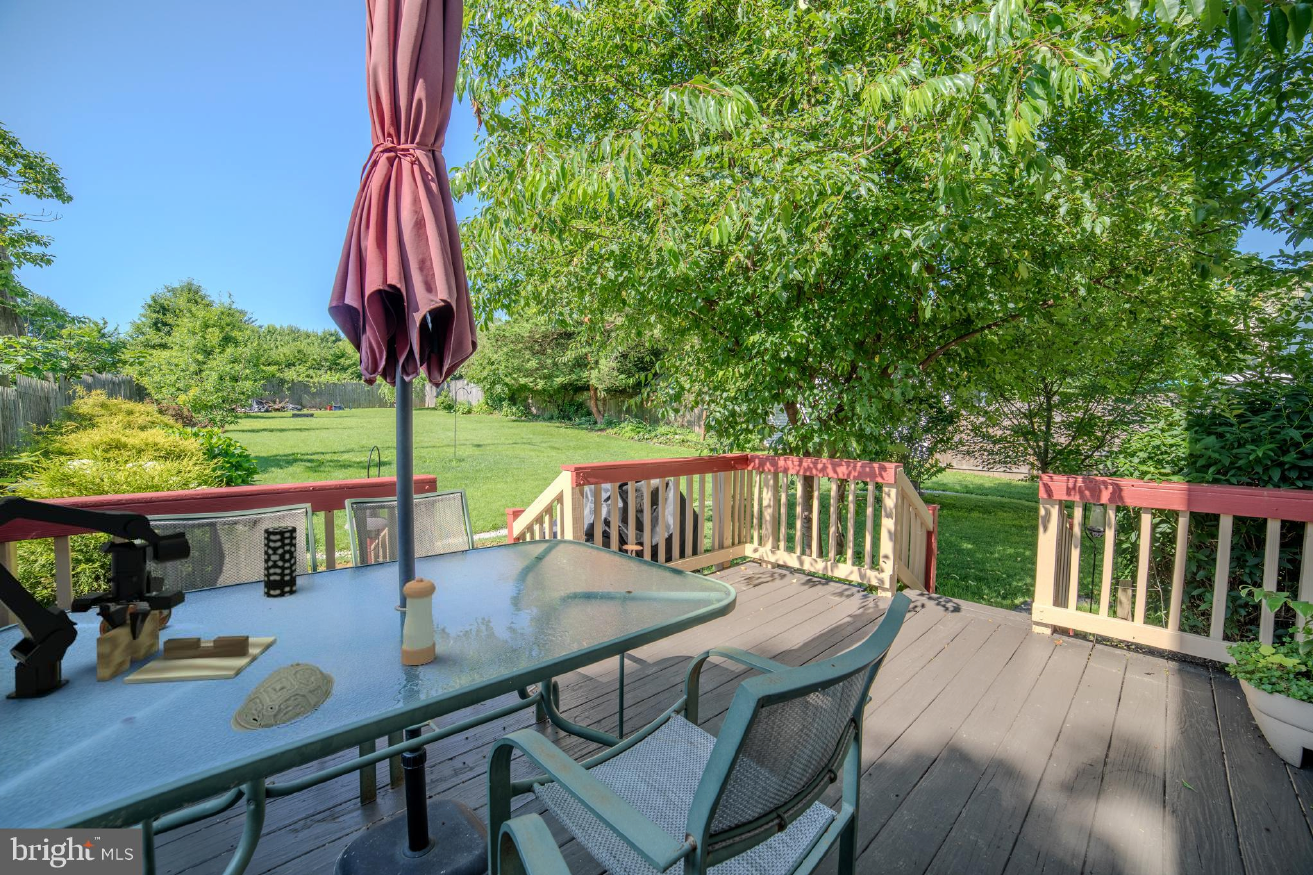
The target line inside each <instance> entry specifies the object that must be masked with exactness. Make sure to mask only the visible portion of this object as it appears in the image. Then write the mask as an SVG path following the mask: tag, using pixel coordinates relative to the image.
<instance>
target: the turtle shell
mask: <svg viewBox="0 0 1313 875" xmlns="http://www.w3.org/2000/svg"><path fill="white" fill-rule="evenodd" d="M335 681H336V680H335V678H334V676H333V675H332V674H331V673H328V672H324V671H323V670H321V668H320V667H318V666H316V665H314V664H312V663H310V662H308V663H307V662H299V661H295V662H293V663H291V664H289V665H288V664H287V665H285V666H281V667H278V668H277V669H276V670H274V671H272V672H271V673H269V675H268V676H267V677H265V678H264V679H262V680H261V681H260V682H259V683H258V684H257V685H256V686H255V687H254V688H253V689H252V691H251V692H250V693H249V694H248V695H247V696H246V698H245V700H244V702H243V703H242V705H241V706H240V707H238V708H237V709H236V711H235V712H234V713H233V718H232V719H231V720H230V726H231V727H232V728H233V730H235V731H237V732H240V731H248V730H249V729H250V730H258V729H263V728H271V727H273V726H277V725H280V724H286V723H287V722H291V721H292V720H295V719H299V717H303V716H304V715H307V714H308V713H310V712H312V711H314V710H316V708H318V707H319V706H320V705H321V704H322V705H323V704H325V702H324V701H326V702H327V701H328V698H329V699H330V698H331V697H332V695H333V692H332V691H333V689H334V686H335V685H334V683H335ZM322 705H321V706H322ZM321 706H320V707H321ZM320 707H319V708H320ZM271 708H272V709H271ZM319 708H318V709H319ZM316 711H317V710H316ZM253 719H255V720H253ZM256 720H257V721H256Z"/></svg>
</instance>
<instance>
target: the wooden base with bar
mask: <svg viewBox="0 0 1313 875" xmlns="http://www.w3.org/2000/svg"><path fill="white" fill-rule="evenodd" d="M276 642H277V636H269V637H265V636H264V637H250V635H227V636H224V635H223V636H217V637H216V638H214V639H202V638H201V637H175V638H174V637H173V638H168V639H166V640H165V641H163V642H162V644H163V647H162V648H163V652H162V653H163V654H160V656H158V657H156V658H155V659H153V660H152V661H150V662H148V663H147V664H146V665H143V666H142V667H141V668H139V669H137V670H136V671H135V672H133V673H131V674H130V675H128V676H126V677H125V678H123V684H124V685H125V684H126V685H127V684H128V685H129V684H147V683H148V684H149V683H166V682H168V683H169V682H186V681H202V680H203V681H206V680H223V679H227V680H228V679H234V678H235V677H236V676H238V675H239V674H240V673H241V672H243V670H245V669H246V668H247V667H248V666H249V665H250V664H251V663H253V662H254V661H255V660H257V658H259V657H260V656H261V655H262V654H263V653H265V652H266V651H267V650H268V649H269V648H270V647H271V646H272V645H273V644H275V643H276Z"/></svg>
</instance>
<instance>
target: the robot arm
mask: <svg viewBox="0 0 1313 875" xmlns="http://www.w3.org/2000/svg"><path fill="white" fill-rule="evenodd" d="M15 519H21V520H23V519H24V520H30V521H36V522H43V523H50V524H56V525H63V526H68V527H69V526H70V527H75V528H76V527H77V528H83V529H88V530H93V531H97V532H100V533H103V534H106V535H108V536H112V537H116V538H118V539H119V538H120V539H123V540H126V541H120V542H119V541H118V542H115V541H114V540H109V539H108V540H107V541H106V542H105V543H104V544H103V545H101V546H99V547H98V548H97V551H98V552H99V553H103V554H110V559H111V560H110V562H111V563H110V564H111V565H110V566H111V567H110V568H111V569H110V570H111V571H110V572H111V574H110V576H109V577H106V583H111V592H108V591H98V592H97V591H96V592H93V591H92V592H88V593H86V594H83V595H81V596H78V597H76V598H74V599H73V600H72V601H71V602H70V604H69V606H70V607H69V608H70V609H69V610H70V613H71V614H76V613H77V614H79V613H80V614H81V613H82V614H83V613H87V612H89V611H90V610H91V609H92V607H98V612H96V614H95V615H96V616H97V617H101V618H102V619H104V620H105V621H106V622H107V623H108V624H109V625H110V626H111V628H112V629H113V630H114V629H116V628H118V627H120V626H122V625H124V624H126V623H127V611H128V609H129V606H130V605H136V610H134V611H132V612H130V613H129V617H130V625H131V633H132V637H133V640H136V639H138V638H139V636H140V634H141V631H142V629H143V627H144V624H145V622H146V620H147V618H148V616H149V615H150V613H151V612H152V611H153V610H168V609H172V610H173V608H175V607H177V606H179V605H182V604H183V603H185V602H186V594H185V592H183V590H182V589H171V590H163V588H164V585H165V580H166V577H159V576H153V575H152V571H151V569H147V567H148V566H147V565H148V564H147V561H148V562H152V563H153V564H154V565H155V566H157V565H163V564H168V563H175V562H180V561H185V560H188V559H189V558H190V556H191V545H190V543H189V540H188V538H187V537H186V532H185V531H183V530H177V531H172V532H167V533H161V534H159V533H158V532H157V531H156V530H154V529H153V528H152V527H151V521H150V519H149V518H148V517H147V516H146V515H144V514H142V513H141V514H140V513H137V512H134V511H133V512H132V511H129V510H92V509H85V508H79V507H73V506H68V505H62V504H55V503H50V502H44V501H38V500H34V499H33V500H31V499H26V498H24V497H20V496H16V495H5V496H2V497H0V527H2V526H4V525H6V524H8V523H9V522H12V521H13V520H14V521H15ZM138 540H139V541H142V542H140V543H135V541H138ZM155 592H156V594H154V595H150V594H152V593H155ZM0 604H1V605H2V606H3V607H4V608H6V610H7V611H8V612H10V614H11V615H12V616H13V617H14V618H15V620H16V622H17V625H18V628H19V630H20V631H21V633H22V634H23V636H24V637H22V638H21V639H20V640H19V641H18V642H17V643H15V645H14V646H12V648H10V649H9V653H10V654H11V656H12V659H14V660H16V661H18V662H17V663H16V665H15V666H14V691H12V692H10V693H8V694H6V695H5V699H22V698H23V699H24V698H42V697H46V696H47V695H49V694H51V693H53V692H54V691H57V690H58V689H60V688H62V687H64V686H65V685H67V684H68V683H70V681H71V680H70V679H69V678H68V679H62V677H63V674H62V661H63V659H64V657H65V655H66V653H67V651H68V648H69V647H70V646H72V645H73V643H74V642H75V641H76V639H77V636H78V630H77V628H76V627H75V626H78V624H79V623H77V622H76V621H73V620H71V618H70V617H69V615H68V613H67V612H66V610H64V609H63V608H60V607H58V606H57V605H55V604H52V605H50V606H49V607H47V608H46V607H44V606H43V605H42V604H41V603H40V602H39V601H38V600H37V599H36V598H35V597H34V596H33V595H32V594H31V593H30V592H29V590H28V589H26V587H25V586H24V585H22V584H21V582H20V581H19V580H18V579H17V578H16V577H15V576H14V575H13V574H12V573H11V572H10V571H9V569H7V568H6V567H5V566H4V565H3V564H2V563H1V562H0Z"/></svg>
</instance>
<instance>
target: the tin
mask: <svg viewBox="0 0 1313 875" xmlns="http://www.w3.org/2000/svg"><path fill="white" fill-rule="evenodd" d="M134 610H136V605H130V606H129V609H128V611H127V623H128V622H130V617H129V613H130V612H132V611H134ZM172 610H173V608H172V609H168V610H153V611H152V612H155V611H159V629H161V630H162V629H164V628H165V627H166V626H167V624H168V623H169V621H170V619H171V617H172V614H173V612H172ZM112 630H113V629H112V628H111V626H110V625H109V624H108V623H107V622H106V621H105V620H104V619H103V618H102V619H101V620H100V624H99V631H98V632H99V635H100V636H102V635H104V634H106V633H108V632H110V631H112ZM100 636H99V637H100Z"/></svg>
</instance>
